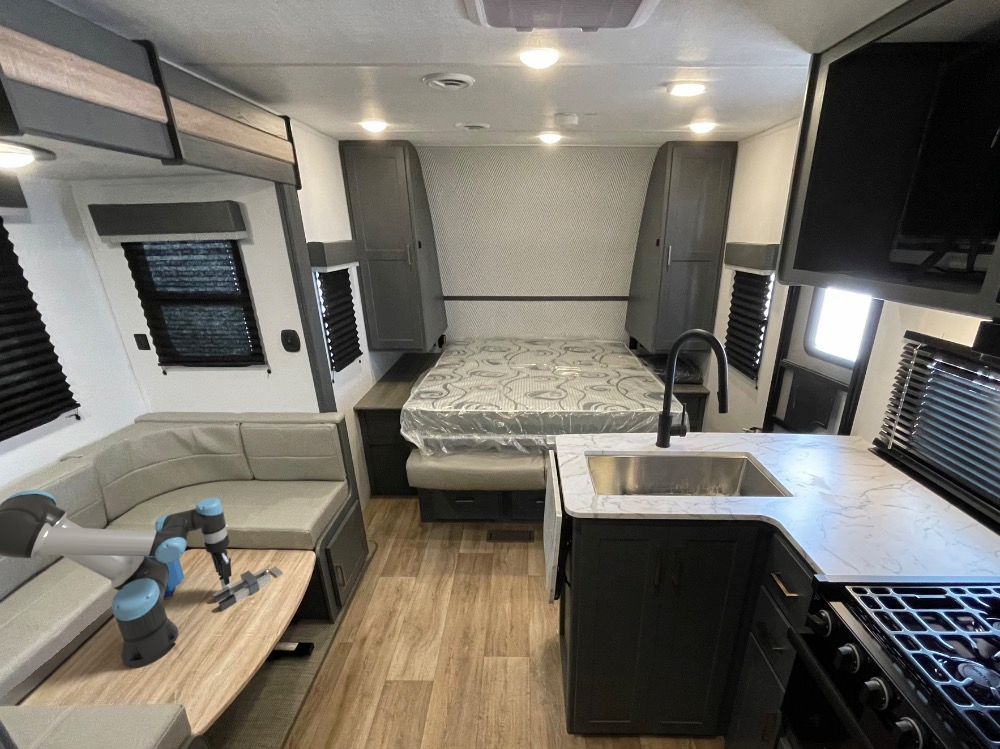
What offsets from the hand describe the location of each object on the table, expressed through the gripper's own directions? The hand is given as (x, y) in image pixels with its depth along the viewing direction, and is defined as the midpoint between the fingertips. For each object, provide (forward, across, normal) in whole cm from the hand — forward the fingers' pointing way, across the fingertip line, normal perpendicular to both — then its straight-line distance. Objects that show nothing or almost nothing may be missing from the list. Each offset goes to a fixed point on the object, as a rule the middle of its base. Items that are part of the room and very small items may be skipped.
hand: (227, 589), depth 165 cm
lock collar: (+1, -6, -6) cm, 8 cm away
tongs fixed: (+1, -6, -6) cm, 8 cm away
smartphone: (+3, +20, +11) cm, 23 cm away
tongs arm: (+1, -4, -4) cm, 6 cm away
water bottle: (+3, +24, +11) cm, 27 cm away
